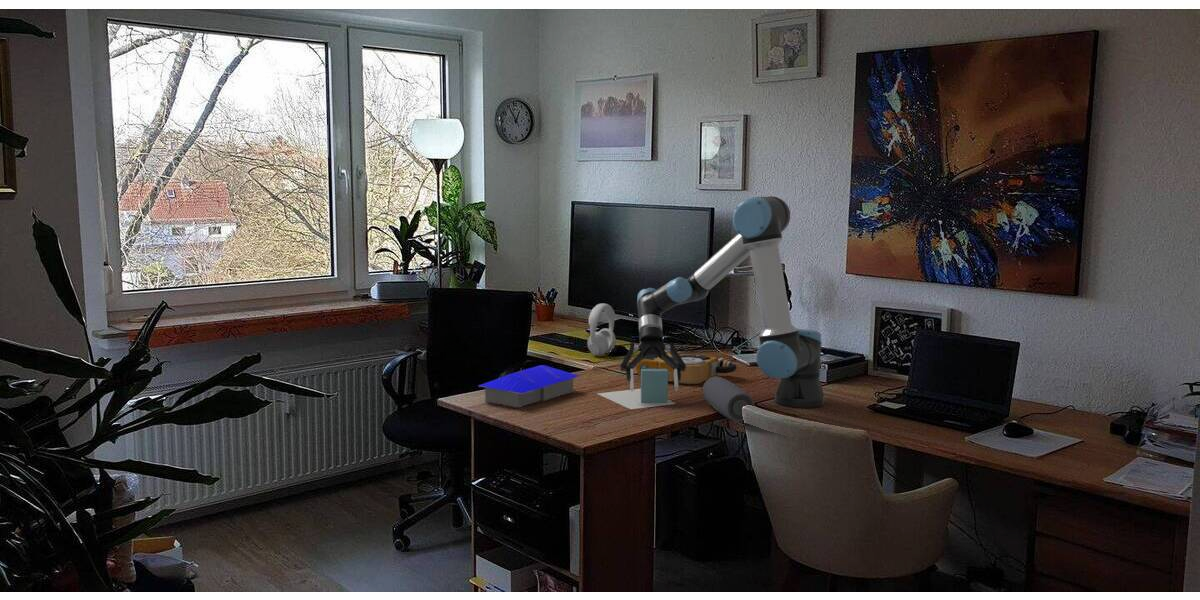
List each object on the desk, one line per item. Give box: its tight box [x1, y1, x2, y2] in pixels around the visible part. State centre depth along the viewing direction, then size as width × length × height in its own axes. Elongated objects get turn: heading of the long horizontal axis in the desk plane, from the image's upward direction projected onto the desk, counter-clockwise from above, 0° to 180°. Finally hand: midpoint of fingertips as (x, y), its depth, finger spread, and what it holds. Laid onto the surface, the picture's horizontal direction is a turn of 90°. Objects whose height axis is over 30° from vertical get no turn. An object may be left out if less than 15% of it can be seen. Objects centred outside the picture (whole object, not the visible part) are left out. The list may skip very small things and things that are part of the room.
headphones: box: [586, 303, 617, 357], centre depth 375 cm, size 18×8×20 cm, turn 156°
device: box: [635, 353, 737, 385], centre depth 336 cm, size 23×8×30 cm
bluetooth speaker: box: [701, 376, 755, 423], centre depth 286 cm, size 23×9×10 cm, turn 12°
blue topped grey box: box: [477, 364, 580, 408], centre depth 308 cm, size 30×17×9 cm, turn 146°
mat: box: [597, 388, 677, 410], centre depth 305 cm, size 22×16×1 cm
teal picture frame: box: [640, 369, 669, 403], centre depth 300 cm, size 8×3×10 cm, turn 92°
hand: (654, 389), depth 298 cm, fingers open, 13 cm apart
